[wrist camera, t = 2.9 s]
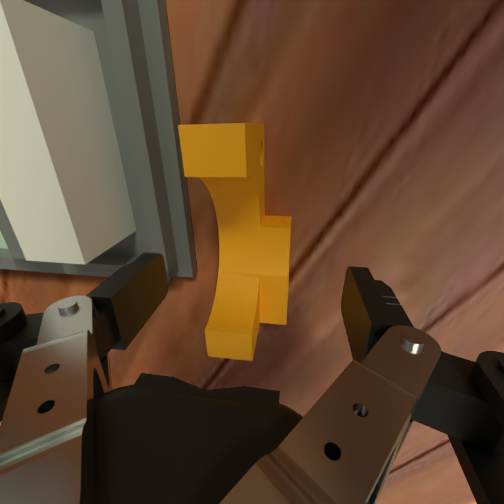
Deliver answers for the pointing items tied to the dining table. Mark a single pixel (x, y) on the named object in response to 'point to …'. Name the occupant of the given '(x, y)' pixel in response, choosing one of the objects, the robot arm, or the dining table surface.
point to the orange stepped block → (240, 235)
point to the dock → (136, 135)
